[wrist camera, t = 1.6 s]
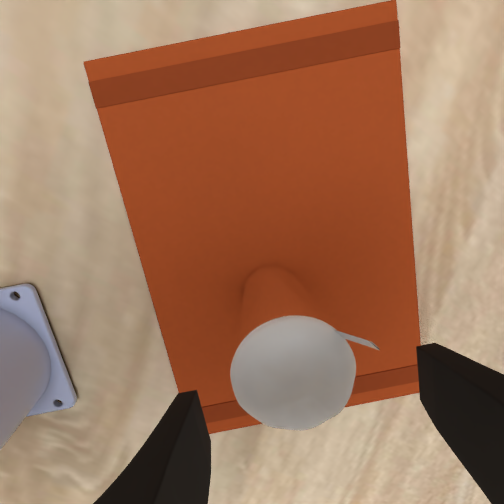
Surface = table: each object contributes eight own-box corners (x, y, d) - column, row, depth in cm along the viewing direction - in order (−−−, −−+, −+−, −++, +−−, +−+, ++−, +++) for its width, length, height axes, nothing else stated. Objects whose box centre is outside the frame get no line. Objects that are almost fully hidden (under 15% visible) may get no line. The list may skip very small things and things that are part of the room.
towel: (192, 434, 24) (191, 438, 24) (85, 62, 18) (82, 61, 18) (421, 388, 24) (424, 392, 24) (393, 1, 18) (396, -2, 18)
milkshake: (337, 278, 21) (423, 389, 12) (271, 341, 22) (302, 492, 13) (280, 225, 20) (324, 298, 11) (214, 293, 21) (200, 417, 12)
